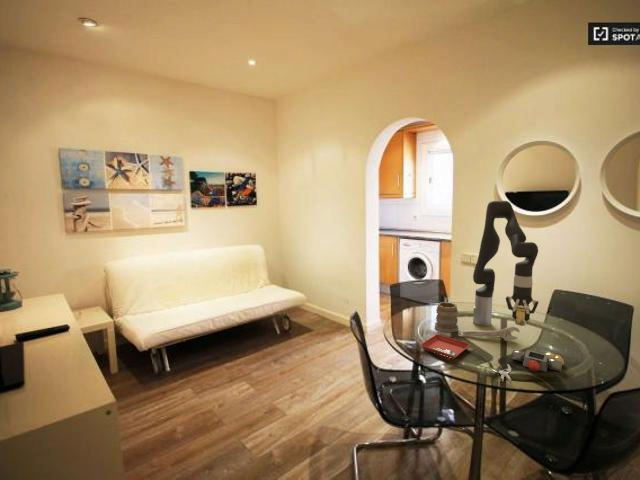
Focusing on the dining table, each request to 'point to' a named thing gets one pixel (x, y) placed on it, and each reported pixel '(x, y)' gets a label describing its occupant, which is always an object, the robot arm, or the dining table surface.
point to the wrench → (492, 333)
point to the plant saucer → (445, 345)
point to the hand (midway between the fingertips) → (520, 319)
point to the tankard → (446, 317)
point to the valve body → (536, 360)
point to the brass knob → (520, 316)
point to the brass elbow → (555, 357)
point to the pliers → (505, 373)
